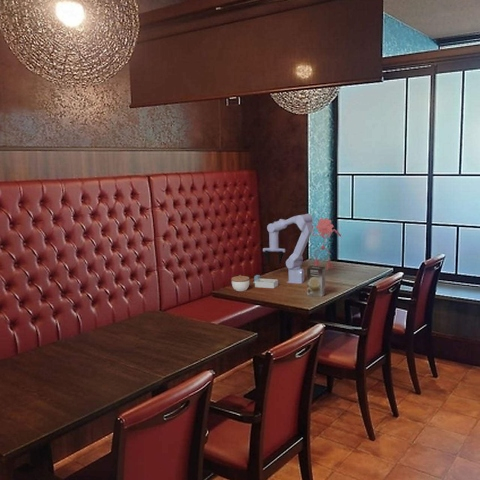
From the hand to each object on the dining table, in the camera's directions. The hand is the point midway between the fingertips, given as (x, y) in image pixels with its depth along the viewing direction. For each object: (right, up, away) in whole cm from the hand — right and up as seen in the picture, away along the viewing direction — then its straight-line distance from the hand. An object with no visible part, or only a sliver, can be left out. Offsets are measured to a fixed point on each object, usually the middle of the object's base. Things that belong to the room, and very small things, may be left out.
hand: (274, 262), depth 337 cm
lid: (-6, -12, -8) cm, 16 cm away
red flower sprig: (+37, -5, +27) cm, 46 cm away
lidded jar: (-22, -16, -24) cm, 36 cm away
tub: (-6, -14, -18) cm, 24 cm away
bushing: (-9, -13, -17) cm, 23 cm away
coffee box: (+21, -17, -39) cm, 47 cm away
